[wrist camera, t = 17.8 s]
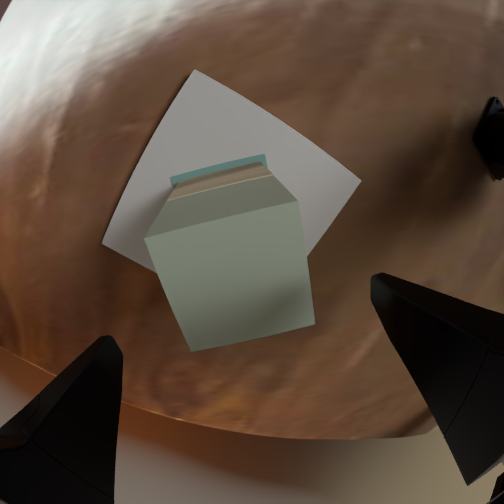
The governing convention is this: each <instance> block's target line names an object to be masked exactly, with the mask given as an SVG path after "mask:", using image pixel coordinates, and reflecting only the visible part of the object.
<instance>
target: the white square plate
mask: <svg viewBox="0 0 504 504" xmlns="http://www.w3.org/2000/svg"><path fill="white" fill-rule="evenodd" d="M259 161H260V162H261V163H262V164H263V165H265V166H266V167H267V168H268V169H269V170H270V171H271V172H272V173H273V175H274V176H275V177H276V178H277V179H278V180H279V181H280V182H281V183H282V184H283V185H284V187H285V188H286V189H287V190H288V191H289V192H290V193H291V194H292V195H293V196H294V197H295V198H296V199H297V200H298V203H299V209H300V215H301V221H302V228H303V235H304V241H305V248H306V255H307V256H308V255H309V253H310V252H311V251H312V249H313V248H314V247H315V245H316V244H317V243H318V241H319V240H320V238H321V237H322V236H323V234H324V233H325V232H326V230H327V229H328V227H329V226H330V225H331V223H332V222H333V221H334V219H335V218H336V216H337V215H338V214H339V212H340V211H341V209H342V208H343V207H344V205H345V204H346V202H347V201H348V199H349V198H350V197H351V195H352V194H353V192H354V191H355V189H356V188H357V187H358V185H359V184H360V182H361V180H360V179H359V178H358V177H356V176H355V175H354V174H353V173H352V172H350V171H349V170H348V169H347V168H345V167H344V166H343V165H341V164H340V163H339V162H338V161H336V160H335V159H334V158H332V157H331V156H330V155H328V154H327V153H326V152H324V151H323V150H322V149H320V148H319V147H318V146H316V145H315V144H314V143H312V142H311V141H309V140H308V139H307V138H305V137H304V136H302V135H301V134H300V133H298V132H297V131H295V130H294V129H292V128H291V127H289V126H288V125H287V124H285V123H284V122H282V121H281V120H279V119H278V118H276V117H275V116H273V115H271V114H270V113H268V112H267V111H265V110H264V109H262V108H261V107H259V106H257V105H256V104H254V103H253V102H251V101H249V100H248V99H246V98H244V97H243V96H241V95H239V94H238V93H236V92H234V91H233V90H231V89H229V88H227V87H226V86H224V85H222V84H220V83H219V82H217V81H215V80H213V79H211V78H210V77H208V76H206V75H204V74H202V73H200V72H198V71H197V70H195V69H194V71H193V72H192V73H191V75H190V76H189V78H188V79H187V81H186V82H185V84H184V85H183V87H182V88H181V90H180V91H179V93H178V95H177V96H176V98H175V99H174V101H173V103H172V104H171V106H170V107H169V109H168V111H167V112H166V114H165V116H164V117H163V119H162V121H161V122H160V124H159V126H158V127H157V129H156V131H155V133H154V134H153V136H152V138H151V140H150V142H149V143H148V145H147V147H146V149H145V151H144V153H143V155H142V156H141V158H140V160H139V162H138V164H137V166H136V168H135V170H134V172H133V174H132V176H131V178H130V180H129V182H128V184H127V186H126V188H125V191H124V193H123V195H122V197H121V199H120V201H119V203H118V206H117V208H116V210H115V212H114V215H113V217H112V219H111V222H110V224H109V226H108V229H107V231H106V234H105V236H104V239H103V241H102V244H103V245H105V246H107V247H109V248H110V249H112V250H114V251H116V252H118V253H120V254H121V255H123V256H125V257H127V258H129V259H131V260H133V261H134V262H136V263H138V264H140V265H142V266H144V267H146V268H148V269H150V270H152V271H154V272H156V269H155V267H154V264H153V261H152V259H151V256H150V254H149V251H148V248H147V245H146V243H145V240H144V237H145V236H146V234H147V232H148V231H149V229H150V227H151V226H152V224H153V222H154V221H155V219H156V217H157V216H158V214H159V213H160V211H161V209H162V208H163V206H164V205H165V203H166V202H167V199H168V198H169V196H170V195H171V193H172V192H173V190H174V189H175V187H176V186H177V184H178V183H179V181H182V180H186V179H190V178H193V177H197V176H201V175H205V174H209V173H213V172H216V171H221V170H225V169H229V168H233V167H237V166H242V165H246V164H250V163H255V162H259ZM156 273H157V272H156Z"/></svg>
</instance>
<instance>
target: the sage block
mask: <svg viewBox="0 0 504 504" xmlns="http://www.w3.org/2000/svg"><path fill="white" fill-rule="evenodd" d="M144 240H145V243H146V245H147V248H148V251H149V254H150V256H151V259H152V261H153V264H154V267H155V269H156V272H157V274H158V277H159V279H160V282H161V284H162V287H163V289H164V292H165V294H166V296H167V299H168V301H169V303H170V306H171V308H172V310H173V313H174V315H175V317H176V320H177V322H178V324H179V326H180V329H181V331H182V333H183V335H184V337H185V340H186V342H187V344H188V346H189V348H190V350H191V352H193V351H199V350H204V349H210V348H215V347H220V346H225V345H230V344H235V343H239V342H244V341H249V340H253V339H257V338H262V337H266V336H270V335H275V334H279V333H283V332H287V331H291V330H295V329H299V328H303V327H306V326H310V325H314V324H315V319H314V310H313V302H312V294H311V285H310V278H309V270H308V263H307V255H306V248H305V241H304V235H303V228H302V221H301V215H300V209H299V203H298V200H297V199H296V198H295V197H294V196H293V195H292V194H291V193H290V192H289V191H288V190H287V189H286V188H285V187H284V185H283V184H282V183H281V182H280V181H279V180H278V179H277V178H276V177H275V176H274V175H271V176H266V177H262V178H257V179H253V180H248V181H244V182H240V183H235V184H231V185H227V186H223V187H219V188H215V189H211V190H207V191H203V192H199V193H195V194H191V195H187V196H184V197H180V198H176V199H173V200H169V201H167V202H166V203H165V205H164V206H163V208H162V209H161V211H160V213H159V214H158V216H157V217H156V219H155V221H154V222H153V224H152V226H151V227H150V229H149V231H148V232H147V234H146V236H145V237H144Z"/></svg>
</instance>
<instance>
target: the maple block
mask: <svg viewBox="0 0 504 504" xmlns="http://www.w3.org/2000/svg"><path fill="white" fill-rule="evenodd" d="M271 175H273V173H272V172H271V171H270V170H269V169H268V168H267V167H266V166H265V165H263V164H262V163H261V162H260V161H259V162H255V163H250V164H246V165H242V166H237V167H233V168H229V169H225V170H221V171H216V172H213V173H209V174H205V175H201V176H197V177H193V178H190V179H186V180H182V181H179V183H178V184H177V186H176V187H175V189H174V190H173V192H172V193H171V195H170V196H169V198H168V199H167V201H169V200H173V199H176V198H180V197H184V196H187V195H191V194H195V193H199V192H203V191H207V190H211V189H215V188H219V187H223V186H227V185H231V184H235V183H240V182H244V181H248V180H253V179H257V178H262V177H266V176H271Z"/></svg>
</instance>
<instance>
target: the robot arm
mask: <svg viewBox="0 0 504 504" xmlns="http://www.w3.org/2000/svg"><path fill="white" fill-rule="evenodd" d="M477 139H478V141H477ZM473 142H474V144H475V145H476V147H477V148H478V150H479V151H480V153H481V154H482V156H483V158H484V160H485V162H486V163H487V165H488V167H489V168H490V170H491V172H492V173H493V174H494V176H495V177H496V179H497V180H502V178H504V107H503V105H502V104H501V102H500V100H499V99H498V97H493V98H492V100H491V102H490V104H489V106H488V108H487V110H486V112H485V115H484V117H483V119H482V121H481V123H480V125H479V127H478V129H477V131H476V133H475V134H474V137H473ZM371 301H372V304H373V306H374V308H375V310H376V312H377V314H378V316H379V318H380V320H381V323H382V325H383V327H384V329H385V331H386V333H387V335H388V337H389V339H390V341H391V342H392V344H393V346H394V347H395V349H396V351H397V352H398V354H399V356H400V358H401V359H402V361H403V363H404V364H405V366H406V368H407V369H408V371H409V373H410V375H411V376H412V378H413V380H414V382H415V383H416V385H417V387H418V389H419V391H420V392H421V394H422V396H423V398H424V400H425V401H426V403H427V405H428V407H429V409H430V411H431V413H432V415H433V416H434V418H435V420H436V422H437V424H438V426H439V428H440V430H441V432H442V434H443V435H444V438H445V440H446V442H447V444H448V446H449V448H450V450H451V452H452V454H453V456H454V459H455V461H456V463H457V465H458V467H459V469H460V472H461V474H462V476H463V478H464V480H465V483H466V484H467V486H468V485H470V484H471V483H473V482H474V481H476V480H477V479H479V478H480V477H481V476H483V475H484V474H486V473H487V472H489V471H490V470H491V469H492V468H494V467H495V466H497V465H498V464H499V463H500V462H502V463H503V465H504V314H502V313H498V312H495V311H492V310H488V309H485V308H482V307H479V306H477V305H474V304H471V303H468V302H465V301H463V300H460V299H457V298H454V297H452V296H449V295H446V294H443V293H440V292H438V291H435V290H432V289H429V288H426V287H423V286H421V285H418V284H415V283H412V282H409V281H406V280H403V279H400V278H398V277H395V276H392V275H389V274H386V273H378V274H375V275H372V277H371ZM122 374H123V354H122V352H121V350H120V348H119V347H118V345H117V343H116V342H115V340H114V338H113V337H112V336H110V335H107V336H101V337H99V338H98V339H97V340H96V341H95V342H94V343H93V344H92V345H90V346H89V347H88V348H87V349H86V350H85V351H84V352H83V353H82V354H81V355H79V356H78V357H77V358H76V359H75V360H74V361H73V362H72V363H71V364H70V365H69V366H68V367H66V368H65V369H64V370H63V371H62V372H61V373H60V374H59V375H58V376H57V377H56V378H55V379H54V380H53V381H52V382H51V383H50V384H48V385H47V386H46V387H45V388H44V389H43V390H42V391H41V392H40V394H38V395H37V396H36V397H35V398H34V399H33V400H31V401H30V402H29V403H28V404H27V405H26V406H25V407H24V408H23V409H22V410H21V411H19V412H18V413H17V414H16V415H15V416H14V417H12V418H11V419H10V420H9V421H8V422H7V423H6V424H4V425H3V426H2V427H1V428H0V504H114V483H115V460H116V445H117V434H118V424H119V414H120V405H121V397H122ZM487 504H504V472H503V473H502V474H501V475H500V476H499V477H497V480H496V484H495V487H494V490H493V493H492V496H491V499H490V501H489V502H488V503H487Z"/></svg>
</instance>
